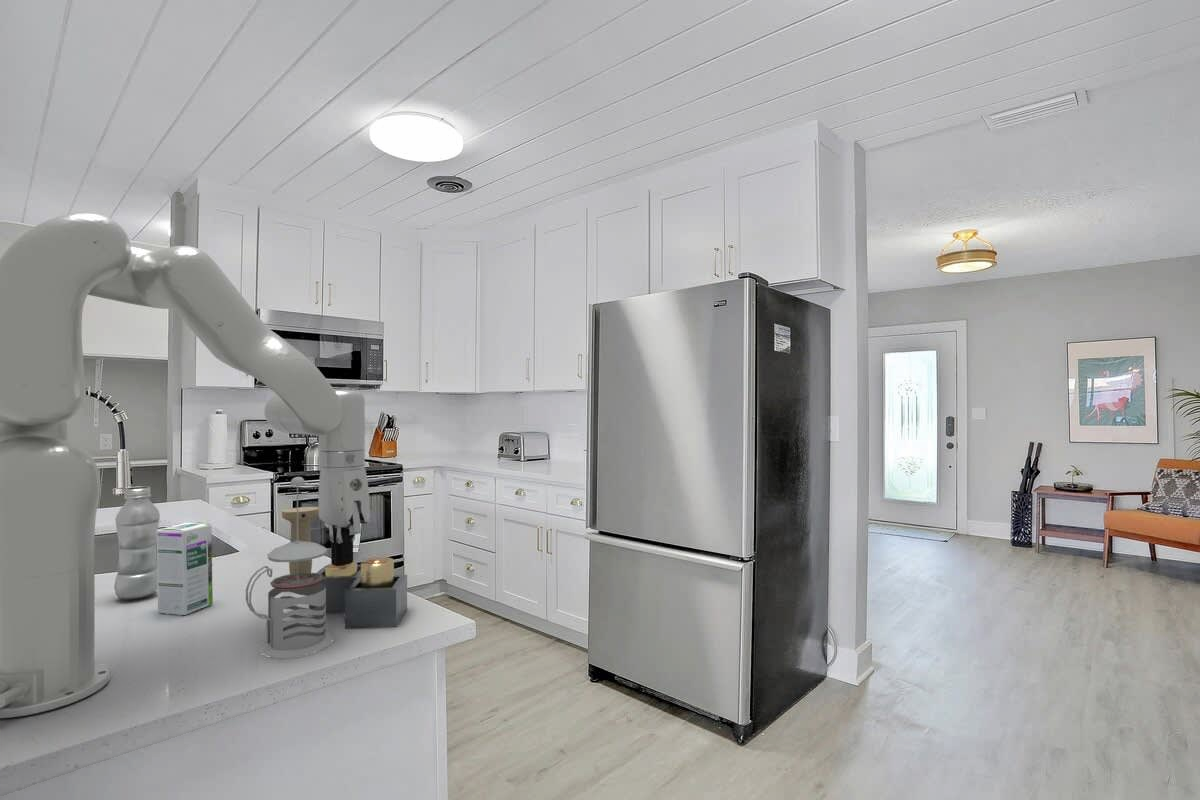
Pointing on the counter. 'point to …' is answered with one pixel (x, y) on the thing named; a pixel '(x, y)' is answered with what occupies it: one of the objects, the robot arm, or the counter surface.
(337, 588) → the socket far
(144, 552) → the plastic bottle
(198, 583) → the syrup box
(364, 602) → the socket near
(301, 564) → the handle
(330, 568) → the cream candle
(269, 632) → the french press
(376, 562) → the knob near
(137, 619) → the counter surface
